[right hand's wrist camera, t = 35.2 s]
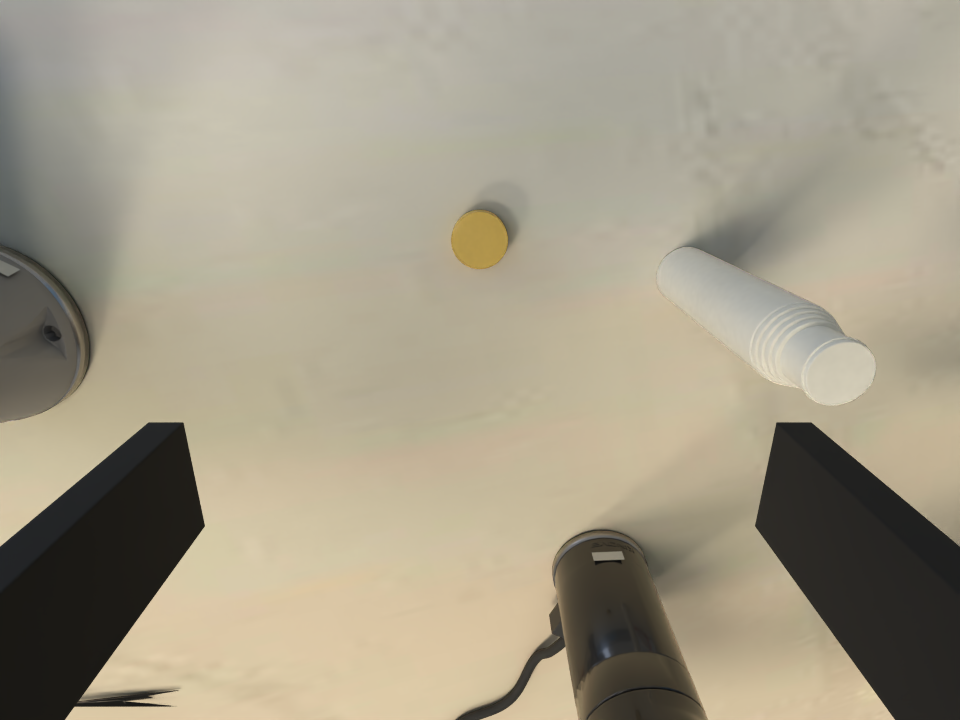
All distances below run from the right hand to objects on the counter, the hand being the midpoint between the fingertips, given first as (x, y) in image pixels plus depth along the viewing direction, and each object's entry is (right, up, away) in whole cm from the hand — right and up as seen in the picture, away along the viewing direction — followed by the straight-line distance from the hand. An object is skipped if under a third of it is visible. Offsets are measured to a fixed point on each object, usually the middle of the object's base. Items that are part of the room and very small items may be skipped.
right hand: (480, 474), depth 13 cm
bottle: (+17, +10, +34) cm, 39 cm away
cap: (0, +12, +32) cm, 34 cm away
